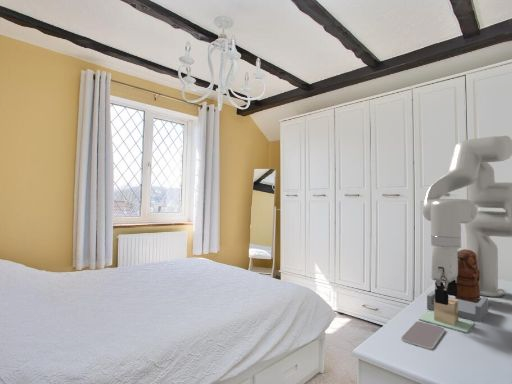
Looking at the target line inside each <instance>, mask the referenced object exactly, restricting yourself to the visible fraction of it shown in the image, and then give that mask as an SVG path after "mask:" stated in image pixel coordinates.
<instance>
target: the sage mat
mask: <svg viewBox="0 0 512 384" xmlns="http://www.w3.org/2000/svg"><path fill="white" fill-rule="evenodd" d="M418 321H420V322H424V323H428V324H431V325H435V326H439V327H442V328H446V329H450V330H453V331H457V332H461V333H464V334H468V333H469V331H470V330H471V328H473V326H474V325H475V321H474V322H473V321H472V320H468V319H464V318H460V317H458V321H457V323H456V324H455V325H450V324H447V323H443V322H439V321H436V320H434V311H432V310H428V311H426V312H425V313H424V314H422V316H420V317H419V318H418Z"/></svg>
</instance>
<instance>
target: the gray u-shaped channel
mask: <svg viewBox="0 0 512 384" xmlns="http://www.w3.org/2000/svg"><path fill="white" fill-rule="evenodd" d="M448 298H451V299H455V297H451V296H448ZM434 299H435V289H434V290H433V291H431V292H430V293H429V294H426V308H427V309H426V310H429V309H430V310H429V311H433V310H434ZM455 300H458V318H460V319H464V320H468V321H472V322H473V321H474V322H477V323H481V322H482V321H483V320H484V318H485V317H486V315H487V313H488V312H489V306H488V305H489V304H488V303H489V300H488V296H482V298H481V299H479V301H477V303H474V302H469V301H464V300H460V299H455Z"/></svg>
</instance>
